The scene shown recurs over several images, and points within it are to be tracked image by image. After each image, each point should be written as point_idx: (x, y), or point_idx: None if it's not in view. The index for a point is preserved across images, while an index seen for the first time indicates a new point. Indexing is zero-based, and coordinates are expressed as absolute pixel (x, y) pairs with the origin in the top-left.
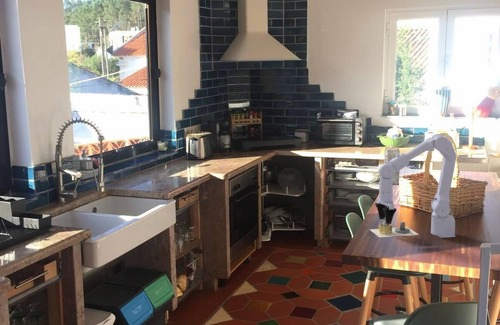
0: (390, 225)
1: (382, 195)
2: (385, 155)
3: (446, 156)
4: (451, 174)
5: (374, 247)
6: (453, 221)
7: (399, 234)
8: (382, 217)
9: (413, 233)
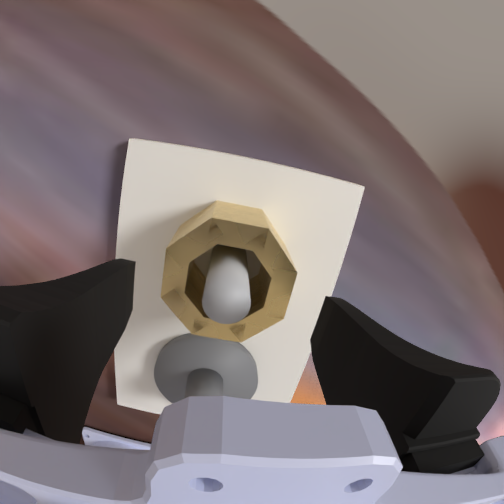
0: (190, 318)
1: None
2: None
3: None
4: None
5: (23, 40)
6: None
7: (145, 321)
8: (321, 331)
9: (145, 397)
